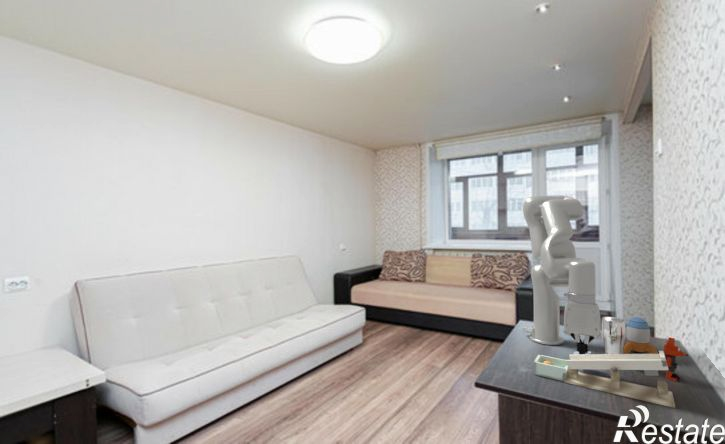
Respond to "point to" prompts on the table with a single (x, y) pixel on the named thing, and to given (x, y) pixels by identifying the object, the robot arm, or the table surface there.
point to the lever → (619, 362)
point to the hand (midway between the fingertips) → (582, 354)
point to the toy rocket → (638, 337)
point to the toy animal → (672, 358)
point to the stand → (622, 387)
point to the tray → (551, 367)
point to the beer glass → (613, 335)
